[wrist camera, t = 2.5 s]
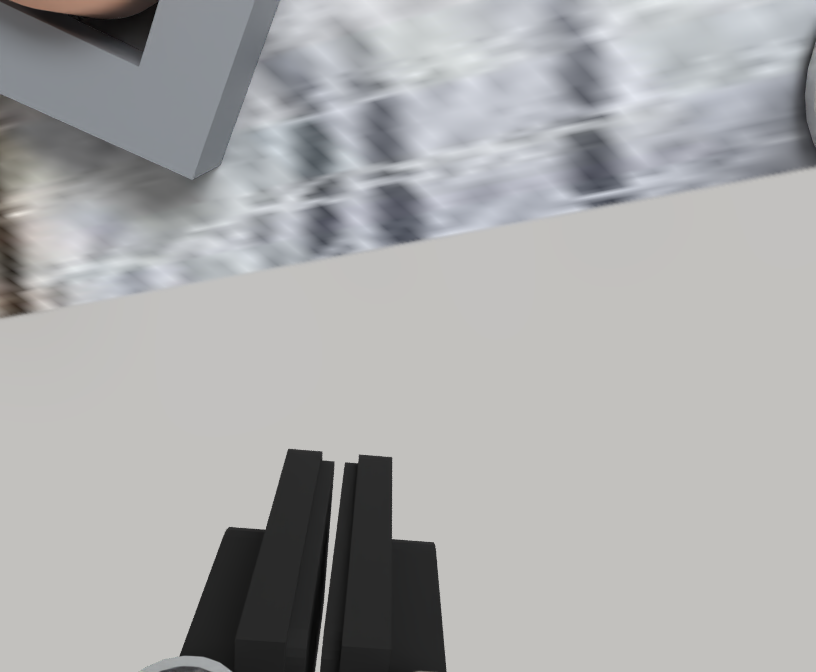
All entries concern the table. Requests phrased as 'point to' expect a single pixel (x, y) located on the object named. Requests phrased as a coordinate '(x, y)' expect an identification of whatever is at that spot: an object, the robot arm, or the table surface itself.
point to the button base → (141, 76)
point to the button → (91, 7)
